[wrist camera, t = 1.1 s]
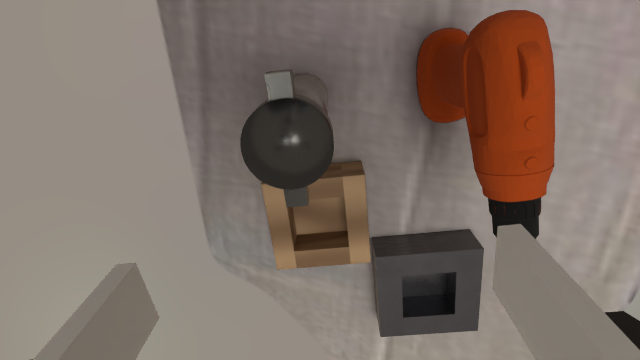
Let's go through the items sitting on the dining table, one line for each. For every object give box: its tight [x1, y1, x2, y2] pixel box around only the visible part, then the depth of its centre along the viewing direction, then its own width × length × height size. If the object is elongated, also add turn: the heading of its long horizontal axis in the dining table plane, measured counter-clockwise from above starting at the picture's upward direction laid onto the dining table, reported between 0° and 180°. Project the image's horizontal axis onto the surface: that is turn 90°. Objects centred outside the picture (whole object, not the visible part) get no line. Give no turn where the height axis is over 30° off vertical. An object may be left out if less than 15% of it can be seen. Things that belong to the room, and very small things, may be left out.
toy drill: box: [417, 10, 555, 239], centre depth 25 cm, size 5×19×15 cm, turn 11°
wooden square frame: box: [261, 161, 371, 270], centre depth 34 cm, size 9×9×4 cm
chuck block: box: [372, 229, 484, 337], centre depth 36 cm, size 10×10×4 cm
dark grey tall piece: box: [241, 69, 334, 208], centre depth 24 cm, size 7×5×15 cm, turn 6°
